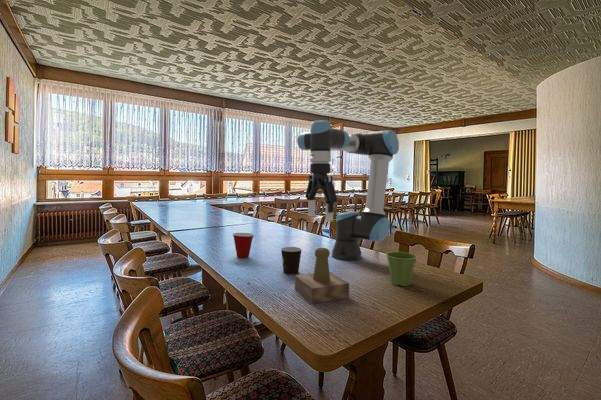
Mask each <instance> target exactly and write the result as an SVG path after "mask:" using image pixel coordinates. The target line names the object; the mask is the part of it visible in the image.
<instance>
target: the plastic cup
mask: <svg viewBox="0 0 601 400" xmlns="http://www.w3.org/2000/svg"><path fill="white" fill-rule="evenodd" d="M232 236H233V240H234V246H235V247H234V248H235V252H236V257H237V259H238V258H239V259H248V258H249V256H250V253H251V248H252V243H253V239H254V236H255V234H254V233H249V232H233V233H232Z"/></svg>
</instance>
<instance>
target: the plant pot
mask: <svg viewBox="0 0 601 400" xmlns="http://www.w3.org/2000/svg"><path fill="white" fill-rule="evenodd" d="M385 255H386V257H387V262H388V270H389V278H390V282H391V284H393V285H395V286H400V287H401V286H402V287H408V286H410V285H411V282H412V277H413V273H414V267H415V265H416V262H417V259H418V258H419V256H418V255H417V254H414V253H410V252H405V251H388V252H385Z"/></svg>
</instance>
